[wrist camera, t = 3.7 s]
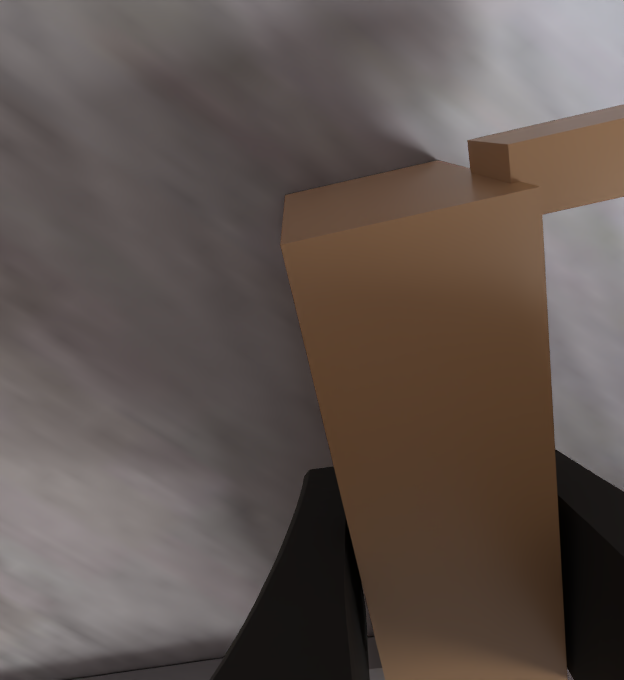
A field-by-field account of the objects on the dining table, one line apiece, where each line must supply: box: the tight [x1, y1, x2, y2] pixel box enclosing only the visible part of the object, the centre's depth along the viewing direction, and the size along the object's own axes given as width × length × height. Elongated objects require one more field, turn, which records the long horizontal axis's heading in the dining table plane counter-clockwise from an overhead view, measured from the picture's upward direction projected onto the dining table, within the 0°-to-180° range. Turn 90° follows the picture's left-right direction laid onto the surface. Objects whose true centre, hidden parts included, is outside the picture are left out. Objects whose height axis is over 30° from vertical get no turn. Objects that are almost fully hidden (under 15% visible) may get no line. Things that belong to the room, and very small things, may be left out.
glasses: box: [280, 104, 624, 680], centre depth 9 cm, size 5×12×4 cm, turn 12°
